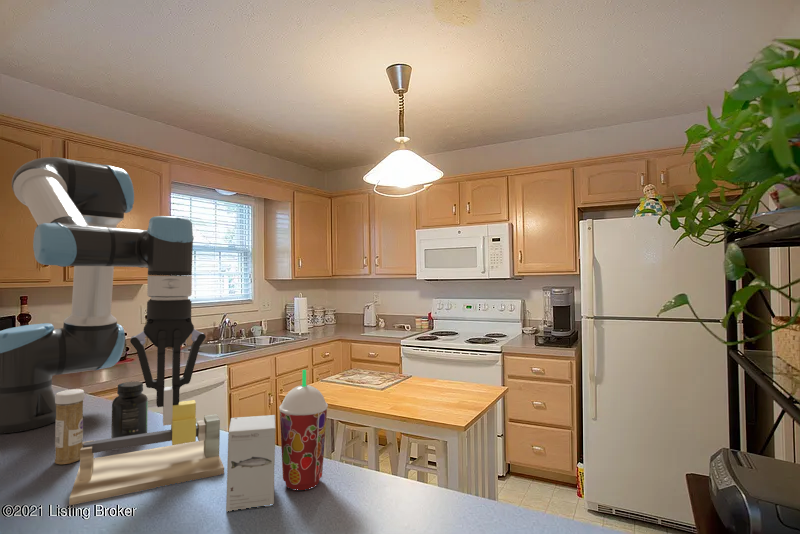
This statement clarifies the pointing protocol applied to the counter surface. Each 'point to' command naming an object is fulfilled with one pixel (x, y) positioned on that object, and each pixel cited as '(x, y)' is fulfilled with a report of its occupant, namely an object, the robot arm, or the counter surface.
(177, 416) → the sleeve
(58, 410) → the sprinkles bottle
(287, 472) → the smoothie
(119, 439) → the gray square bar
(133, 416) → the supplement bottle
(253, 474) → the supplement box
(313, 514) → the counter surface
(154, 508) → the counter surface
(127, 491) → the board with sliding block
